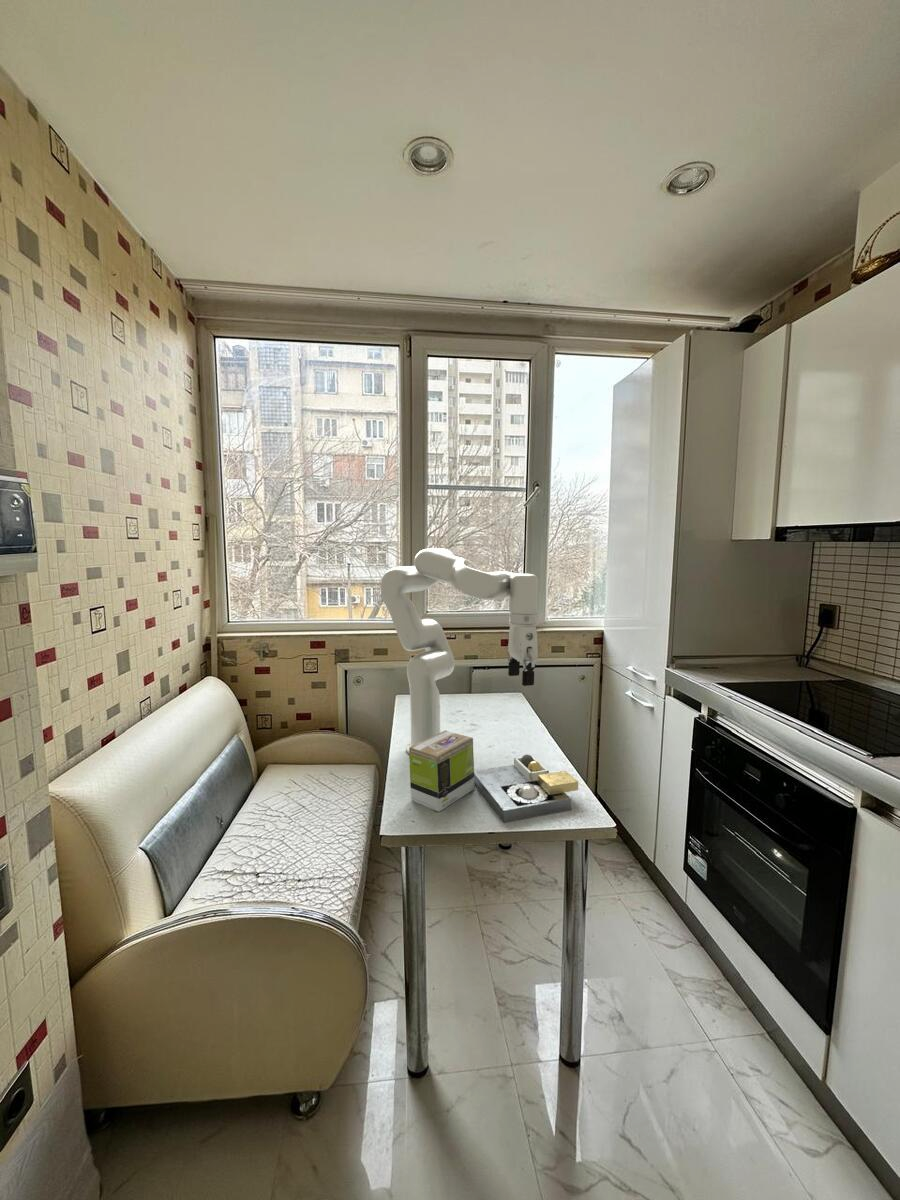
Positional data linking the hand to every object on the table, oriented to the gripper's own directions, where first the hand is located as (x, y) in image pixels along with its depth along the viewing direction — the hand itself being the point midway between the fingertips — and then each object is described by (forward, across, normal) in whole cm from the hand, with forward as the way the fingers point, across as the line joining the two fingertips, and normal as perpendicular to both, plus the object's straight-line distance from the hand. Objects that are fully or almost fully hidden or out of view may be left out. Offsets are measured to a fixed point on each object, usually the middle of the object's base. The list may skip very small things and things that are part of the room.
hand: (520, 680), depth 137 cm
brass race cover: (+25, -14, -5) cm, 29 cm away
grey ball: (+23, -2, -2) cm, 23 cm away
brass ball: (+23, -6, -2) cm, 24 cm away
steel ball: (+25, -15, +4) cm, 30 cm away
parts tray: (+25, -4, -2) cm, 25 cm away
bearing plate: (+28, -10, +4) cm, 30 cm away
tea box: (+29, -4, +23) cm, 37 cm away
